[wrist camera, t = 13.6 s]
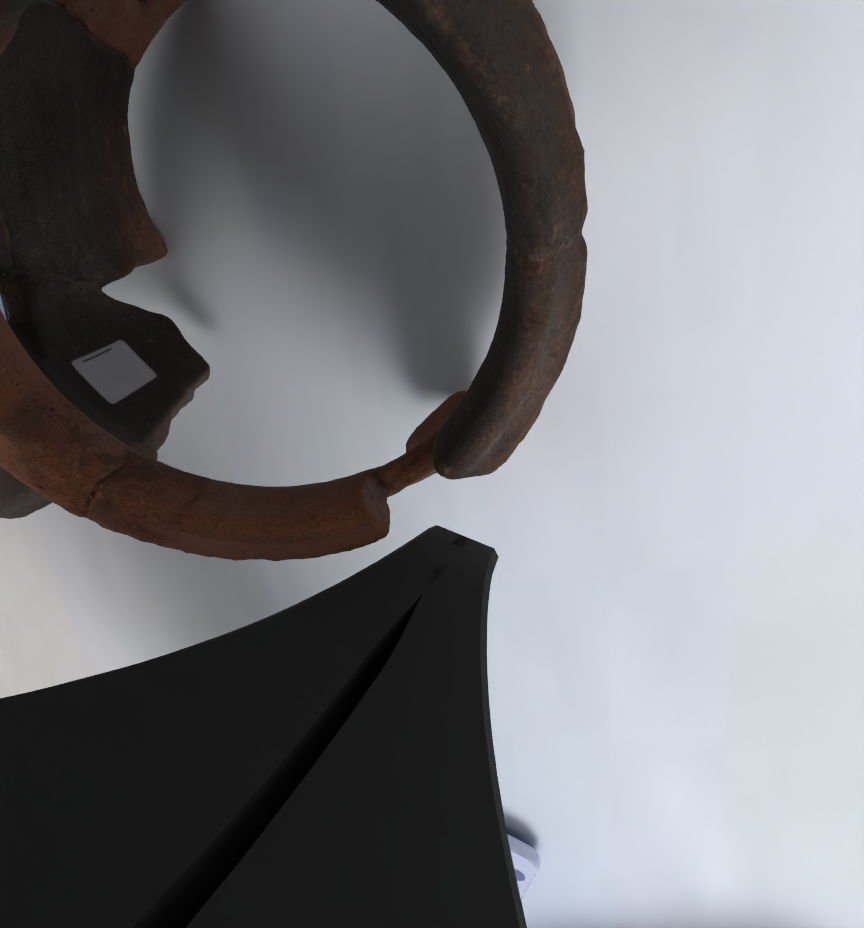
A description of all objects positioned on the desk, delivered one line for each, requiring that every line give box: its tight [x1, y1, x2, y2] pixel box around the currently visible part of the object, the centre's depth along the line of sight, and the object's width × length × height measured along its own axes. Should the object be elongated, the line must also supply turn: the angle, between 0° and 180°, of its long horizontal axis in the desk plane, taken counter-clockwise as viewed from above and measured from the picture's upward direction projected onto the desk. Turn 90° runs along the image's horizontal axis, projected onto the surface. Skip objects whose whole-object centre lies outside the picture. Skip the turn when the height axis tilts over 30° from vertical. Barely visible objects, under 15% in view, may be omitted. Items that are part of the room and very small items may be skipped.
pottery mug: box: [0, 0, 588, 561], centre depth 9 cm, size 12×9×8 cm
